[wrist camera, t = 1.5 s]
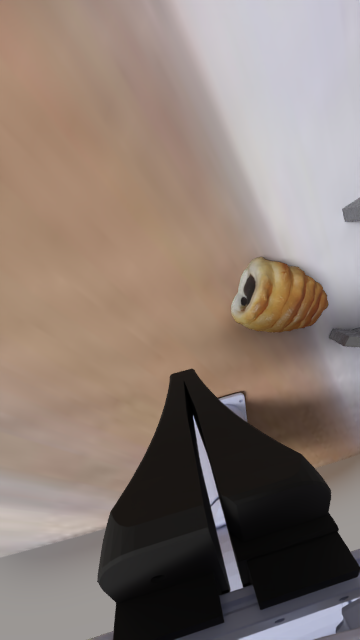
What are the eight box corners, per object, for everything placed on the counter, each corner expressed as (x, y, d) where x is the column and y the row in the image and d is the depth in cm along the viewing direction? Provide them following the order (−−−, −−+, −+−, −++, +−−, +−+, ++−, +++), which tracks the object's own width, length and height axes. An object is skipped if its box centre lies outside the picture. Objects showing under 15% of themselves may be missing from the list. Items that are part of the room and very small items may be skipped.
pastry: (326, 275, 20) (363, 283, 17) (297, 333, 23) (324, 351, 19) (245, 253, 18) (268, 257, 15) (222, 319, 20) (237, 336, 17)
